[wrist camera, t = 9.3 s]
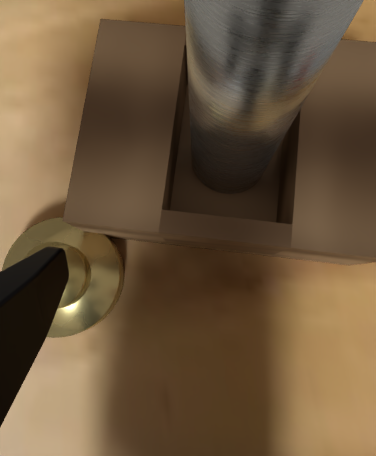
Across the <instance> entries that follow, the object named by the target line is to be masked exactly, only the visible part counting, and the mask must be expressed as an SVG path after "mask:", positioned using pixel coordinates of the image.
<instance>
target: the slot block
mask: <svg viewBox="0 0 376 456" xmlns="http://www.w3.org/2000/svg"><path fill="white" fill-rule="evenodd" d="M63 222H65V223H68V224H70V225H72V226H74V227H76V228H78V229H80V230H82V231H85V232H93V233H102V234H104V235H106V236H108V237H113V238H122V239H130V240H139V241H147V242H156V243H164V244H173V245H181V246H189V247H198V248H206V249H215V250H223V251H232V252H240V253H249V254H257V255H266V256H274V257H283V258H291V259H300V260H308V261H317V262H325V263H334V264H342V265H357V264H365V263H372V262H376V42H367V41H355V40H343V39H341V40H340V42H339V43H338V45H337V47H336V49H335V50H334V52H333V54H332V55H331V57H330V59H329V61H328V62H327V64H326V66H325V67H324V69H323V71H322V73H321V74H320V76H319V78H318V79H317V81H316V83H315V85H314V86H313V88H312V90H311V92H310V93H309V95H308V97H307V98H306V100H305V102H304V104H303V105H302V107H301V109H300V110H299V112H298V114H297V116H296V117H295V119H294V121H293V122H292V124H291V126H290V128H289V129H288V131H287V133H286V134H285V136H284V138H283V140H282V141H281V143H280V145H279V146H278V148H277V150H276V152H275V153H274V155H273V157H272V158H271V160H270V162H269V164H268V165H267V167H266V169H265V171H264V172H263V174H262V176H261V177H260V179H259V180H258V181H257V182H256V183H255V184H254V185H253V186H252V187H250V188H249V189H247V190H245V191H242V192H240V193H235V194H224V193H219V192H216V191H213V190H211V189H209V188H208V187H206V186H205V185H204V184H203V183H202V182H201V181H200V180H199V179H198V177H197V176H196V174H195V172H194V169H193V165H192V153H191V132H190V110H189V89H188V68H187V46H186V26H179V25H167V24H156V23H144V22H132V21H120V20H109V19H100V25H99V30H98V35H97V41H96V46H95V51H94V56H93V62H92V67H91V72H90V78H89V83H88V88H87V94H86V99H85V104H84V110H83V115H82V120H81V125H80V131H79V136H78V141H77V147H76V152H75V157H74V163H73V168H72V173H71V179H70V184H69V189H68V195H67V200H66V205H65V210H64V216H63Z"/></svg>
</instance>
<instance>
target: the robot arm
mask: <svg viewBox="0 0 376 456" xmlns="http://www.w3.org/2000/svg"><path fill="white" fill-rule="evenodd" d="M68 279H69V269H68V263H67V258H66V253H65V250H64V249H63V248H59V247H51V246H48V247H45V248H43V249H41V250H39V251H37V252H36V253H34V254H32V255H30V256H28V257H26V258H25V259H23V260H21V261H19V262H17V263H15V264H14V265H12V266H10V267H8V268H6V269H4V270H3V271H1V272H0V427H1V425H2V423H3V421H4V419H5V417H6V415H7V413H8V411H9V409H10V407H11V405H12V403H13V401H14V399H15V397H16V395H17V393H18V392H19V390H20V388H21V386H22V384H23V382H24V380H25V378H26V376H27V374H28V372H29V370H30V368H31V366H32V364H33V362H34V360H35V358H36V356H37V354H38V353H39V351H40V349H41V347H42V345H43V343H44V341H45V339H46V336H47V334H48V332H49V330H50V327H51V325H52V322H53V319H54V317H55V314H56V311H57V309H58V306H59V304H60V301H61V298H62V296H63V293H64V290H65V288H66V285H67V282H68Z"/></svg>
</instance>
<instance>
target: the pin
mask: <svg viewBox="0 0 376 456" xmlns="http://www.w3.org/2000/svg"><path fill="white" fill-rule="evenodd" d="M362 2H363V0H184V3H185V25H186V46H187V68H188V89H189V110H190V132H191V153H192V165H193V169H194V172H195V174H196V176H197V177H198V179H199V180H200V181H201V182H202V183H203V184H204V185H205V186H206V187H208V188H209V189H211V190H213V191H216V192H219V193H224V194H235V193H240V192H242V191H245V190H247V189H249V188H250V187H252V186H253V185H254V184H255V183H256V182H257V181H258V180H259V179H260V177H261V176H262V174H263V172H264V171H265V169H266V167H267V165H268V164H269V162H270V160H271V158H272V157H273V155H274V153H275V152H276V150H277V148H278V146H279V145H280V143H281V141H282V140H283V138H284V136H285V134H286V133H287V131H288V129H289V128H290V126H291V124H292V122H293V121H294V119H295V117H296V116H297V114H298V112H299V110H300V109H301V107H302V105H303V104H304V102H305V100H306V98H307V97H308V95H309V93H310V92H311V90H312V88H313V86H314V85H315V83H316V81H317V79H318V78H319V76H320V74H321V73H322V71H323V69H324V67H325V66H326V64H327V62H328V61H329V59H330V57H331V55H332V54H333V52H334V50H335V49H336V47H337V45H338V43H339V42H340V40H341V38H342V37H343V35H344V33H345V31H346V30H347V28H348V26H349V25H350V23H351V21H352V19H353V18H354V16H355V14H356V12H357V11H358V9H359V7H360V6H361V4H362Z"/></svg>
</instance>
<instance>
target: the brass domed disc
mask: <svg viewBox="0 0 376 456" xmlns="http://www.w3.org/2000/svg"><path fill="white" fill-rule="evenodd" d="M48 246H51V247H59V248H63V249H64V250H65V253H66V258H67V263H68V269H69V279H68V282H67V285H66V288H65V290H64V293H63V296H62V298H61V301H60V304H59V306H58V309H57V311H56V314H55V317H54V319H53V322H52V325H51V327H50V330H49V332H48V334H47V336H46V337H66V336H71V335H74V334H77V333H80V332H82V331H85V330H87V329H89V328H91V327H93V326H95V325H97V324H98V323H99V322H101V321H102V320H103V319H104V318H105V317H106V316H107V315H108V314H109V313H110V312H111V311H112V309H113V308H114V306H115V305H116V303H117V301H118V299H119V297H120V294H121V291H122V287H123V281H124V267H123V262H122V258H121V255H120V253H119V250H118V248H117V247H116V245H115V244H114V242H113V241H112V240H111V238H110V237H108V236H106V235H104V234H102V233H93V232H85V231H82V230H80V229H78V228H76V227H74V226H72V225H70V224H68V223H65V222H63V218H53V219H49V220H45V221H42V222H40V223H38V224H36V225H34V226H32V227H31V228H29V229H28V230H27V231H25V232H24V233H23V234H22V235H21V236H20V237H19V238H18V239H17V240H16V241H15V243H14V244H13V245H12V247H11V248H10V250H9V252H8V254H7V256H6V258H5V261H4V264H3V268H2V271H3V270H4V269H6V268H8V267H10V266H12V265H14V264H15V263H17V262H19V261H21V260H23V259H25V258H26V257H28V256H30V255H32V254H34V253H36V252H37V251H39V250H41V249H43V248H45V247H48Z"/></svg>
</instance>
